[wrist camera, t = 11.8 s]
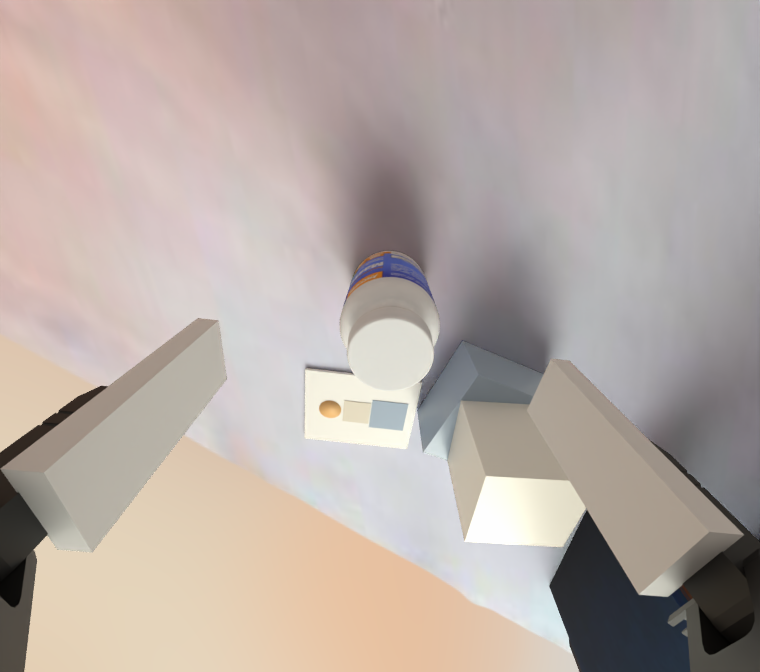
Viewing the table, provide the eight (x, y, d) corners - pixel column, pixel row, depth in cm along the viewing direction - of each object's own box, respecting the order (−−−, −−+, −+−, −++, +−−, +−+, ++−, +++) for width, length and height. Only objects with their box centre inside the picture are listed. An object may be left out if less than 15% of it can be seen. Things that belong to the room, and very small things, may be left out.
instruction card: (421, 381, 26) (422, 383, 26) (406, 446, 30) (406, 449, 29) (306, 367, 25) (304, 370, 25) (305, 435, 29) (304, 438, 29)
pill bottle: (373, 234, 20) (363, 275, 12) (440, 272, 21) (475, 335, 13) (339, 300, 23) (310, 374, 14) (401, 331, 24) (409, 418, 15)
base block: (543, 372, 26) (576, 413, 21) (490, 435, 29) (509, 481, 25) (461, 339, 24) (478, 374, 20) (417, 408, 28) (423, 452, 23)
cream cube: (546, 405, 21) (601, 482, 16) (523, 464, 24) (562, 547, 18) (460, 400, 21) (485, 476, 15) (447, 460, 24) (464, 541, 18)
